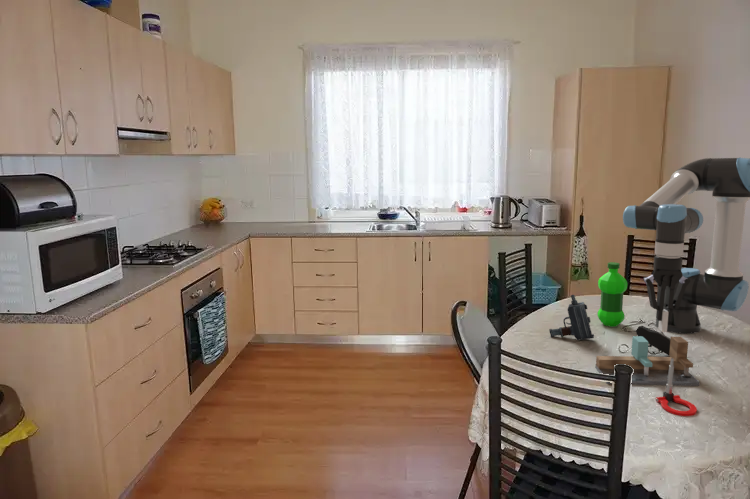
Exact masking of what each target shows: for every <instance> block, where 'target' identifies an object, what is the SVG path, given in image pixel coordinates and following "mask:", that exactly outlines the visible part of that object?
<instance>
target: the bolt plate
mask: <svg viewBox="0 0 750 499" xmlns="http://www.w3.org/2000/svg"><path fill="white" fill-rule="evenodd" d="M595 369H596V371H597V372H598V374H600V373H603V374H609V375H614V369H599V368H598V367H597V365H596V364H595ZM668 371H669V370H655V369H649V371H648V375H647V376H646V375H644V369H634V373H633V375H632V383H631V384H630V385H647V386H666V384H667V381H668ZM605 383H606V384H608V385H613V384H612V383H610V382H605ZM672 385H673V386H695V387H696V386H697V387H698V386H700V381H699V380H698V379H697V378H696V377H695V376H694V375H692V374H691V373H690V372H689V374H688V376H684V370H674V371H673V380H672Z"/></svg>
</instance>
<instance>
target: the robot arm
mask: <svg viewBox="0 0 750 499" xmlns="http://www.w3.org/2000/svg"><path fill="white" fill-rule="evenodd" d="M669 178H670V179H669V180H668V181H667V182H666V183H665V184H663V185H662V186H661V187H660V188H659V189H658V190H656V191H655V192H654V193H653V194H652V195H651V196H649V197H647V199H646V200H644V201H643V202H642V203H641V204H640V205H636V204H635V205H627V207H625V209H624V210H623V214H622V222H623V225H624V226H625V227H626V228H630V229H635V230H646V231H647V230H649V231H655V232H656V233H655V244H654V256H653V270H652V272H651V274H650V275H649V276H645V277H643V281H644V283H645V285H646V289H647V290H646V291H647V295H648V300H649V305H650V307H651V308H652V309H654V310H656V313H655V314H656V315H655V327H656V328H657V330H658V331H660V333H667V332H669V333H674V334H675V333H676V334H683V335H688V334H689V335H690V334H697V333H700V332H701V327H702V326H701V322H700V321H701V320H700V317H699V313H698V309H697V308H698V306H700V307H704V308H705V307H706V308H711V309H716V310H720V311H728V312H737V311H738V310H740V309H741V308H742V306H743V305H744V303H745V301H746V300H747V295H748V294H749V293H748V292H749V282H748V281H747V280H745V279H744V274H743V272H741V271H740V260H741V250H742V242H743V232H744V224H745V223H744V222H745V217H746V216H745V215H746V206H747V205H746V204H747V203H748V201H749V200H750V158H747V157H721V158H720V157H718V158H717V157H716V158H714V157H712V158H711V157H709V158H708V157H707V158H701V159H697V160H694V161H692V162H689V163H687V164H685V165H683V166H682V167H680V168H678V169H677V170H676V171H675V172H673V173H672V174H671V176H670V177H669ZM698 191H702V192H703V191H704V192H705V191H706V192H712V198H713V199H714V200H715V202H716V207H715V217H714V223H713V224H714V226H713V233H712V234H713V235H712V236H713V237H712V245H711V255H710V265H709V267H708V268H706V269H705V270H704V274H701V271H700V269H698V268H696V267H695V268H694V267H683V257H682V256H684V244H685V235H686V234H690V233H693V232H695V231H697V230H699V229H700V228H701V227H702V225H703V224H704V216H703V214H702V212H701V211H700V210H698V209H697V208H693V207H686V205H684V204H678V203H679V202H681V200H682V199H683V198H684V197H685V196H687V195H691V194H693V193H695V192H698ZM654 281H655V283H656V286H657V287H656V288H657V289H656V290H657V291H655V286H654ZM656 292H657V295H656Z"/></svg>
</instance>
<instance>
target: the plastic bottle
mask: <svg viewBox="0 0 750 499" xmlns="http://www.w3.org/2000/svg"><path fill="white" fill-rule="evenodd" d="M606 267H607V269H608V272H606V273H604V274H603V275H602V276H601V277H599V279H598V280H597V286H598V289H599V290H600V308H599V309H598V311H597V319H599V321H600V322H601V323H602V324H603V326H606V327H610V328H613V327H618V325H620V324H622V323H623V321H624V320H625V317H626V316H625V312H624V310H623V302H624V293H625V292H626V291H627V289H628V281H627V279H626V278H625V277H624V276H623V275H622V274H621V273H619V269H620V267H621V265H620V263H619V262H615V261H612V262H611V261H610V262H607V266H606Z"/></svg>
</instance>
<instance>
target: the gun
mask: <svg viewBox="0 0 750 499" xmlns="http://www.w3.org/2000/svg"><path fill="white" fill-rule="evenodd" d="M570 297H571V302H570V304H568V306H567V313H568V316H566V317H564V318H563V325H564V326H563V327H560V326H559V328H549V330H548V331H549V334H550V337H551V338H552V337H555V336H560V337H561V338H563V337H566V336H572V337H574V338H575V340H577V341H582V340H590V339H594V336H595V334H594V333H592V329H591V325H590V323H591V318H590V316H588V313H587V310H588V305H587V304H585V302H584V301H581V302H578V300H577V299H576V295H575V294H571V295H570ZM568 319H569V322H570V323H569V322H565V321H566V320H568ZM566 324H567V325H569V326H567V325H566Z"/></svg>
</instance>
